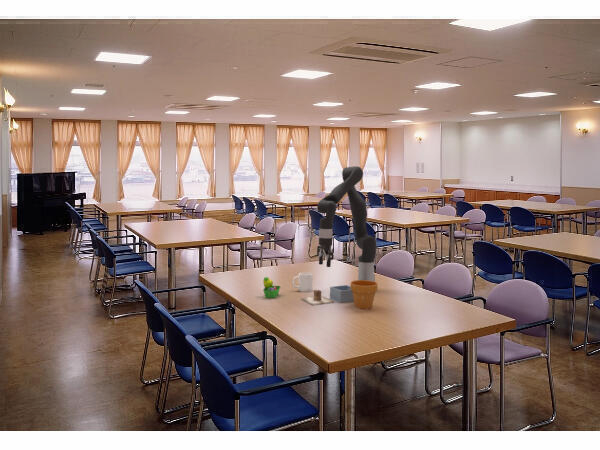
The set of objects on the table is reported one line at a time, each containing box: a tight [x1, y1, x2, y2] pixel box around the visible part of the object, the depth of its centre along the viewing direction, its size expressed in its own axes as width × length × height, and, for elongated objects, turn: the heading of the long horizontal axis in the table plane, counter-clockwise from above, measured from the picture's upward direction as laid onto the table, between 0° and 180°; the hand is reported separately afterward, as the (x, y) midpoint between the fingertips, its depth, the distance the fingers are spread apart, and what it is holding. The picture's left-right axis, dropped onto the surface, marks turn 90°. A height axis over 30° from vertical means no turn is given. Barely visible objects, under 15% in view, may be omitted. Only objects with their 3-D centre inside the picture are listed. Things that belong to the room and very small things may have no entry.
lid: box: [300, 289, 335, 306], centre depth 290 cm, size 13×13×6 cm
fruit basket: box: [262, 276, 281, 299], centre depth 301 cm, size 11×9×11 cm
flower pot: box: [350, 279, 378, 310], centre depth 281 cm, size 14×14×13 cm
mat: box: [301, 300, 336, 307], centre depth 291 cm, size 14×14×1 cm
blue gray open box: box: [329, 284, 354, 304], centre depth 295 cm, size 11×11×7 cm
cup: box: [292, 272, 313, 293], centre depth 316 cm, size 8×12×10 cm
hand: (324, 265), depth 294 cm, fingers open, 8 cm apart
